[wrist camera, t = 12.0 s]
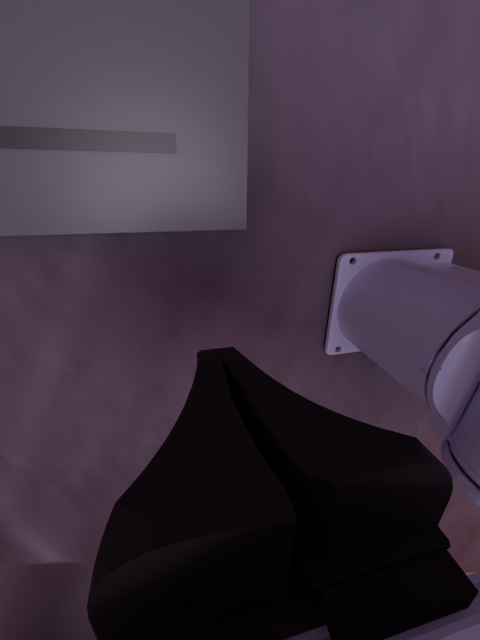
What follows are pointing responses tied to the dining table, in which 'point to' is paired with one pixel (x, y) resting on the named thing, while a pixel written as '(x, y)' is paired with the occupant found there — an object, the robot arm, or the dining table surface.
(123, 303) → the dining table surface
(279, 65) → the dining table surface
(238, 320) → the dining table surface
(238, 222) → the mixer board
